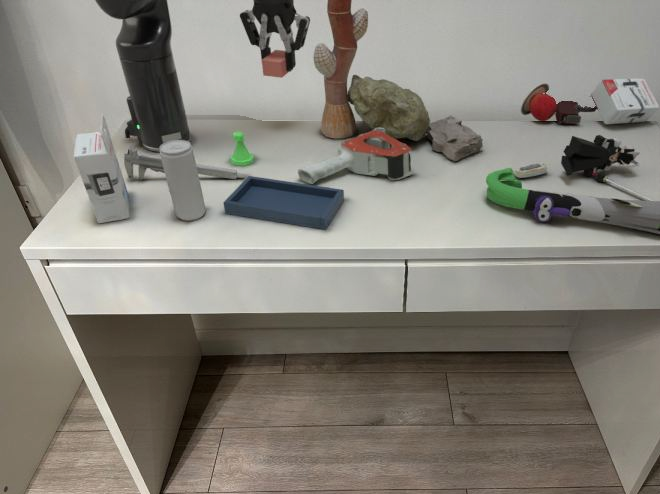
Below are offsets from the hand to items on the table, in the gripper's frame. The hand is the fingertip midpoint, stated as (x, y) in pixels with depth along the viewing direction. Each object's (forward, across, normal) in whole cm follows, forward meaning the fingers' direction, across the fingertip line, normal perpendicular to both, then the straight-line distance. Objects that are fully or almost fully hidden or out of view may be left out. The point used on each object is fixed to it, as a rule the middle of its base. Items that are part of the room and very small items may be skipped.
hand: (279, 68), depth 111 cm
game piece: (+12, -2, -17) cm, 21 cm away
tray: (+12, +13, -31) cm, 36 cm away
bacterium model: (+10, +53, -12) cm, 55 cm away
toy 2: (+7, +61, -14) cm, 63 cm away
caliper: (+13, -8, -27) cm, 31 cm away
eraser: (0, 0, 0) cm, 0 cm away
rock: (+5, +29, +6) cm, 30 cm away
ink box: (+6, +66, +20) cm, 69 cm away
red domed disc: (+7, +51, +21) cm, 56 cm away
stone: (+12, +37, 0) cm, 38 cm away
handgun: (+10, +69, +20) cm, 73 cm away
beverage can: (+12, -2, -37) cm, 39 cm away
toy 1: (+8, +75, -20) cm, 78 cm away
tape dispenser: (+12, +21, -14) cm, 28 cm away
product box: (+13, -15, -39) cm, 44 cm away
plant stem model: (+12, +13, +1) cm, 18 cm away
